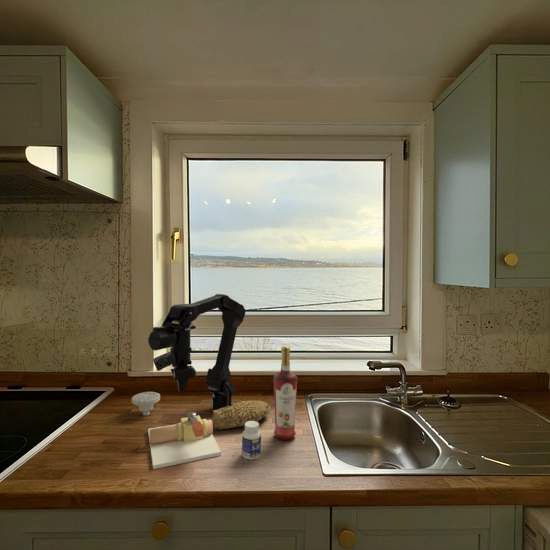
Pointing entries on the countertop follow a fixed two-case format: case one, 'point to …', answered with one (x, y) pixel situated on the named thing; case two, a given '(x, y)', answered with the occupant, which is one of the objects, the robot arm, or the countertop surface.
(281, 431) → the liquor
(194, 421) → the valve lever
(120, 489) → the countertop surface
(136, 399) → the showerhead
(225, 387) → the robot arm
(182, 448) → the valve board
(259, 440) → the pill bottle
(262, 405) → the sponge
